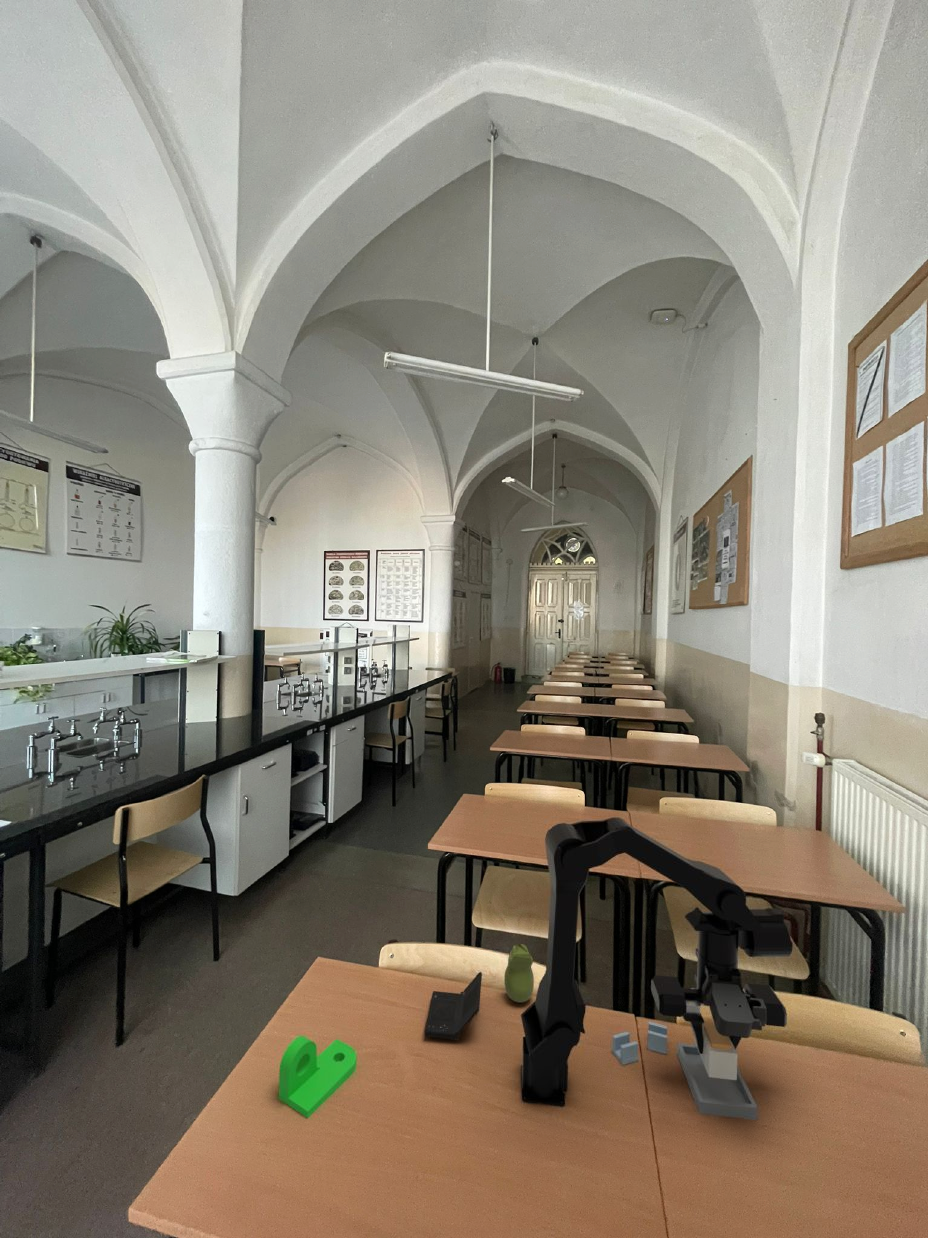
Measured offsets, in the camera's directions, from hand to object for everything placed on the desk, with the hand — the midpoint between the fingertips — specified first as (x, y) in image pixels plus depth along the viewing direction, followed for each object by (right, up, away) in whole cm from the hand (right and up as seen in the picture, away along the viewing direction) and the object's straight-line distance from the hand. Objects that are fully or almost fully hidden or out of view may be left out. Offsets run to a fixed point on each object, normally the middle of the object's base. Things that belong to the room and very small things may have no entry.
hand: (714, 1053), depth 85 cm
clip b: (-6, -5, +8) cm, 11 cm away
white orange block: (0, -1, 0) cm, 1 cm away
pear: (-29, -4, +18) cm, 34 cm away
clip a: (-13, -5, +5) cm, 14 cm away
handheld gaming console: (-44, -5, +12) cm, 46 cm away
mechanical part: (-61, -4, -2) cm, 61 cm away
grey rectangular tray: (0, -5, 0) cm, 5 cm away
